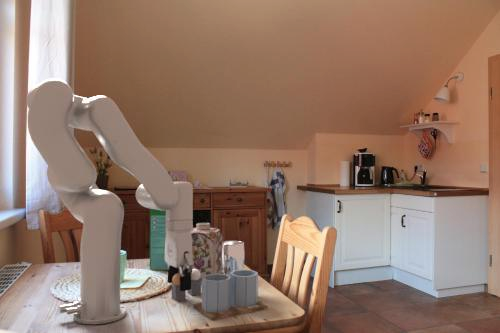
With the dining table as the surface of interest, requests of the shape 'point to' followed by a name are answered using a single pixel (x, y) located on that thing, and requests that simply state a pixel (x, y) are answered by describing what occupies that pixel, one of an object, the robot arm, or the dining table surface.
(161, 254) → the milk carton
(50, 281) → the dining table surface
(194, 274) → the ivory ball
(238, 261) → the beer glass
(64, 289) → the dining table surface
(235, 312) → the rack board
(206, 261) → the decorative jar
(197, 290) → the stand
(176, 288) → the stand
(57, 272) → the dining table surface
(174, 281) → the terracotta ball
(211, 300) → the tubes
